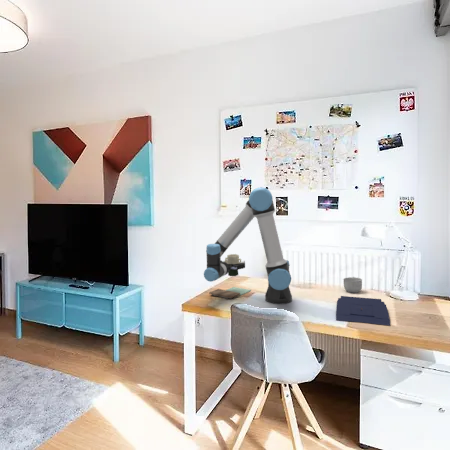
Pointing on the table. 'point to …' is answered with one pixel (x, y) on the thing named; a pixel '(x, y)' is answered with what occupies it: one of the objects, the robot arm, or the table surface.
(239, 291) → the mat
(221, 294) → the walnut slab
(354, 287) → the teacup
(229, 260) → the character mug
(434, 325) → the table surface
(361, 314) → the folded navy cloth
